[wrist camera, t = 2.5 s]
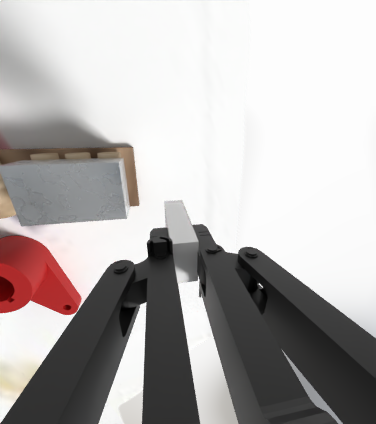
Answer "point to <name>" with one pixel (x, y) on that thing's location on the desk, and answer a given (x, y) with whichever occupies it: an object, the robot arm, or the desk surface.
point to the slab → (67, 190)
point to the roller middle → (78, 155)
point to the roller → (5, 201)
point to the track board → (126, 153)
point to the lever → (33, 277)
